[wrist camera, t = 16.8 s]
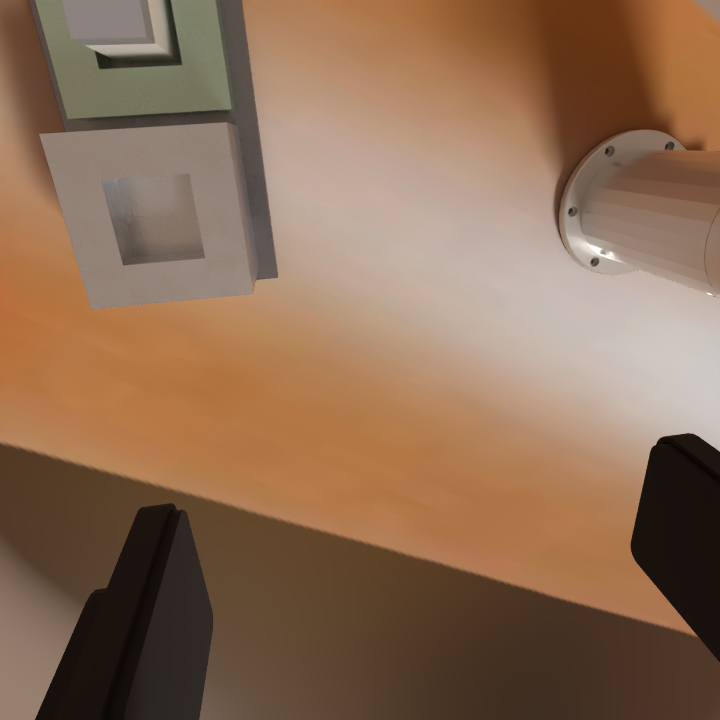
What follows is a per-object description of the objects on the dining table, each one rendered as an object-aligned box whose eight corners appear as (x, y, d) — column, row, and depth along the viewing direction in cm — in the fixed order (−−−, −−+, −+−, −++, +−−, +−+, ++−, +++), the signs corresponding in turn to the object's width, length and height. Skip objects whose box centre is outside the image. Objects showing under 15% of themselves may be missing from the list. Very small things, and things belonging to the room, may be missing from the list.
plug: (167, -7, 34) (129, -54, 26) (178, 61, 36) (146, 37, 28) (106, -6, 34) (49, -53, 25) (120, 62, 35) (71, 38, 27)
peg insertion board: (230, -87, 34) (212, -160, 25) (277, 274, 44) (275, 305, 36) (12, -82, 32) (-81, -158, 24) (113, 290, 42) (72, 325, 34)
